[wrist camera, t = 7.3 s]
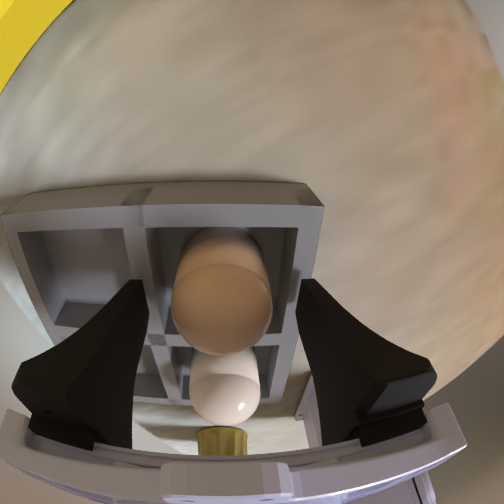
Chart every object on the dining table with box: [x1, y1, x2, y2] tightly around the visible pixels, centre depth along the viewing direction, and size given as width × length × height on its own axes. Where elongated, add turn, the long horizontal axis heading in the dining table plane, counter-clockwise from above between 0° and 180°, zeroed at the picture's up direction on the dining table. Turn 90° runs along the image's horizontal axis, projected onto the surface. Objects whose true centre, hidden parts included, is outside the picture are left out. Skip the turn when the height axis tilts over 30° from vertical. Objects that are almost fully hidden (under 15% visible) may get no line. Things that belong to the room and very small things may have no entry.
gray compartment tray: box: [0, 181, 325, 406], centre depth 16 cm, size 16×16×3 cm
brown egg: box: [171, 227, 273, 357], centre depth 13 cm, size 4×4×6 cm
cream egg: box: [189, 346, 260, 426], centre depth 16 cm, size 4×4×6 cm
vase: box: [197, 427, 247, 456], centre depth 23 cm, size 6×6×14 cm
